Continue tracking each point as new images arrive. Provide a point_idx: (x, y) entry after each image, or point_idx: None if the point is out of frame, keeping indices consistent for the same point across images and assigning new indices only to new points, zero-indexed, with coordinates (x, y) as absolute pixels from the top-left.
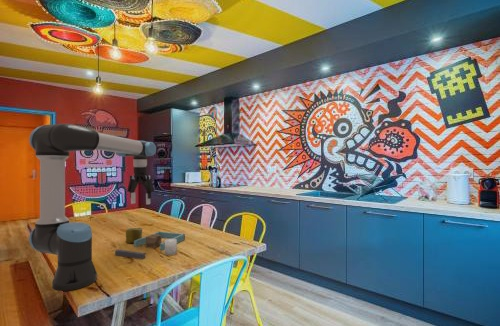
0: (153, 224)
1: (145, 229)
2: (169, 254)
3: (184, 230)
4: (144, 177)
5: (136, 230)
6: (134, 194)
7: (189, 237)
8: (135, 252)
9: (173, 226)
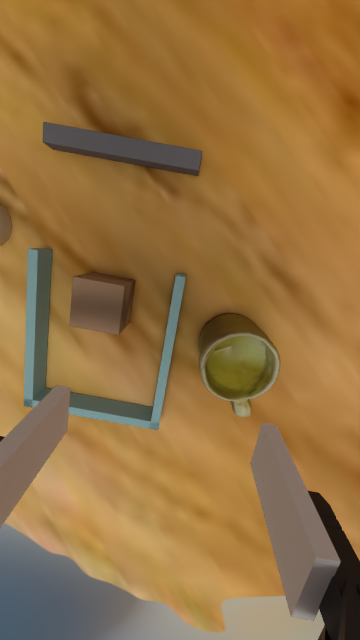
0: None
1: None
2: None
3: (108, 504)
4: None
5: (209, 342)
6: (285, 560)
7: None
8: (91, 142)
9: (185, 551)
